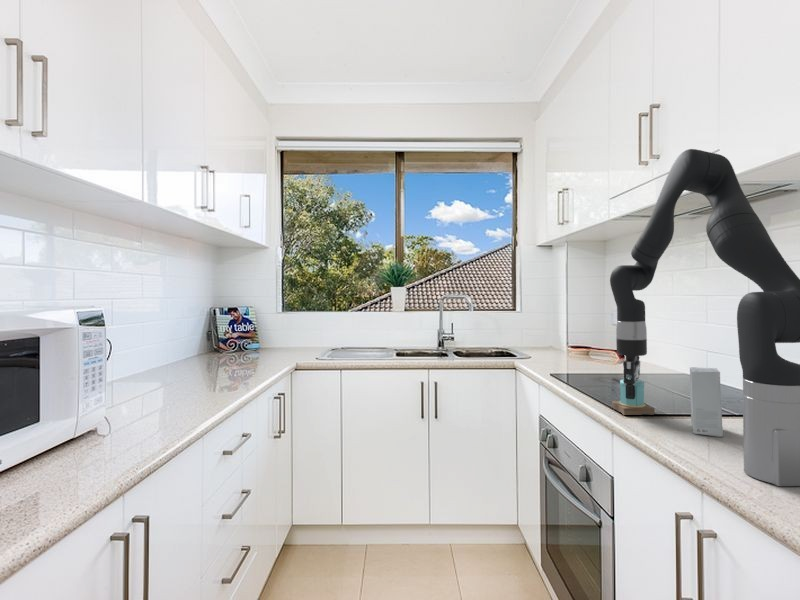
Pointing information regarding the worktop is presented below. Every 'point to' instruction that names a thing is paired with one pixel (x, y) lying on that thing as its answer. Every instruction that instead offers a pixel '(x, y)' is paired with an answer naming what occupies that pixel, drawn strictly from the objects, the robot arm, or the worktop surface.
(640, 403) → the cap
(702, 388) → the skincare box
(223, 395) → the worktop surface
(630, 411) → the board
